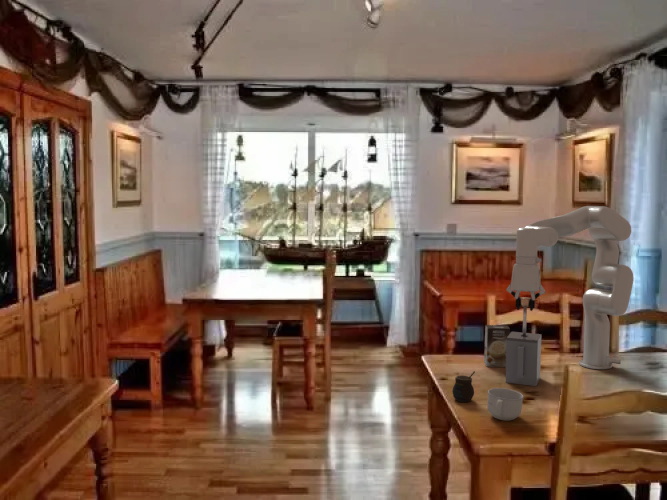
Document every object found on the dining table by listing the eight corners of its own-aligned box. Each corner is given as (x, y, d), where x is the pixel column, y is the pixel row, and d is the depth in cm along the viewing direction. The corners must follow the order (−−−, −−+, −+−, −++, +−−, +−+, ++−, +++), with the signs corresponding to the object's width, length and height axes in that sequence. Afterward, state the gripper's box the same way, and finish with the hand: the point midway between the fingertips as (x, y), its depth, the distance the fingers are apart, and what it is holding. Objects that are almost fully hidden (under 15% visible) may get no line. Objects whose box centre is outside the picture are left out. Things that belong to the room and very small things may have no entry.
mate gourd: (447, 398, 215) (448, 369, 214) (466, 396, 217) (467, 367, 217) (459, 404, 208) (460, 375, 207) (478, 402, 211) (479, 373, 210)
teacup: (496, 408, 204) (496, 385, 203) (528, 416, 197) (528, 391, 197) (476, 421, 193) (477, 395, 193) (509, 429, 187) (510, 403, 186)
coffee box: (486, 366, 253) (486, 328, 252) (483, 362, 260) (484, 324, 258) (509, 367, 252) (510, 328, 251) (506, 363, 259) (507, 325, 257)
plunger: (538, 342, 236) (539, 297, 234) (535, 347, 228) (536, 300, 226) (513, 339, 240) (514, 295, 238) (509, 345, 232) (511, 299, 230)
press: (540, 378, 238) (541, 334, 236) (535, 388, 225) (536, 342, 223) (510, 374, 242) (511, 331, 241) (504, 384, 230) (505, 339, 228)
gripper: (551, 261, 231) (549, 309, 232) (505, 259, 238) (503, 306, 239) (549, 263, 224) (547, 313, 226) (501, 261, 231) (500, 309, 233)
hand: (525, 309), depth 233 cm, fingers closed on plunger, 4 cm apart
